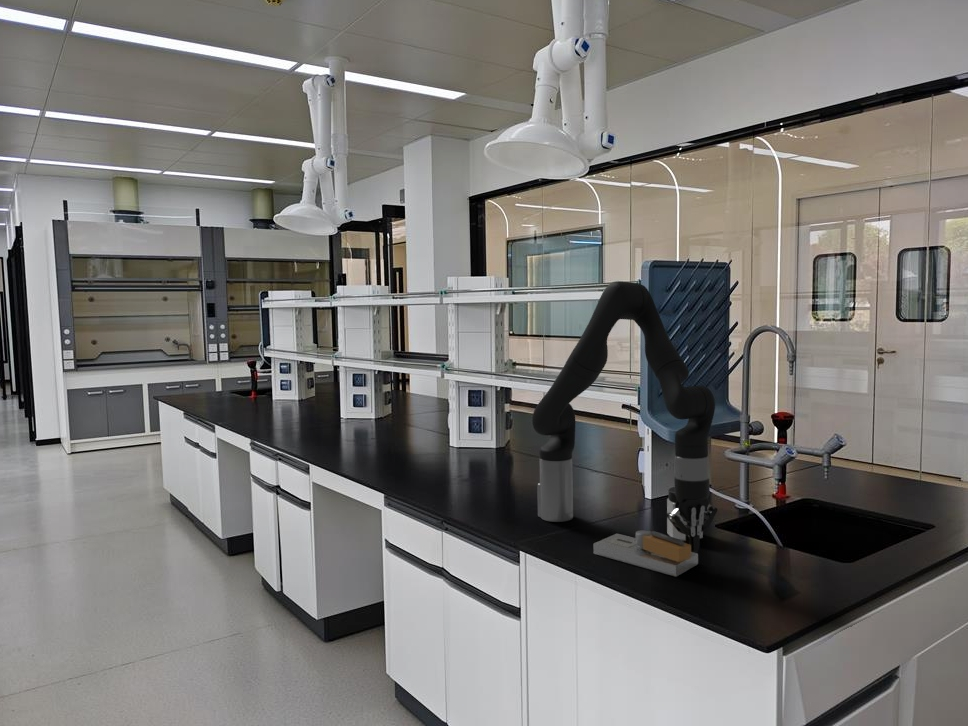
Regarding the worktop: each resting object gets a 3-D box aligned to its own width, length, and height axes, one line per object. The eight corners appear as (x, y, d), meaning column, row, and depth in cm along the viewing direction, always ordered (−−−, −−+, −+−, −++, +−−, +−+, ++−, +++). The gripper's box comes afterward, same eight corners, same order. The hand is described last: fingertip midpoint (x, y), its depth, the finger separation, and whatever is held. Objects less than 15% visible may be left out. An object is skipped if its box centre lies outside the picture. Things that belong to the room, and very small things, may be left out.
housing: (593, 553, 166) (593, 542, 166) (616, 543, 173) (616, 532, 173) (675, 576, 150) (675, 564, 150) (698, 564, 158) (697, 552, 157)
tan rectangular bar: (632, 545, 162) (631, 527, 162) (643, 541, 164) (643, 524, 164) (678, 562, 150) (678, 543, 150) (691, 558, 153) (690, 539, 152)
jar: (707, 541, 173) (707, 494, 172) (675, 542, 173) (675, 495, 172) (694, 529, 182) (694, 485, 181) (663, 531, 182) (663, 486, 181)
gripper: (679, 483, 147) (680, 561, 149) (726, 474, 152) (727, 550, 154) (656, 475, 154) (658, 550, 155) (703, 468, 159) (704, 540, 161)
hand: (692, 550), depth 155 cm, fingers closed
